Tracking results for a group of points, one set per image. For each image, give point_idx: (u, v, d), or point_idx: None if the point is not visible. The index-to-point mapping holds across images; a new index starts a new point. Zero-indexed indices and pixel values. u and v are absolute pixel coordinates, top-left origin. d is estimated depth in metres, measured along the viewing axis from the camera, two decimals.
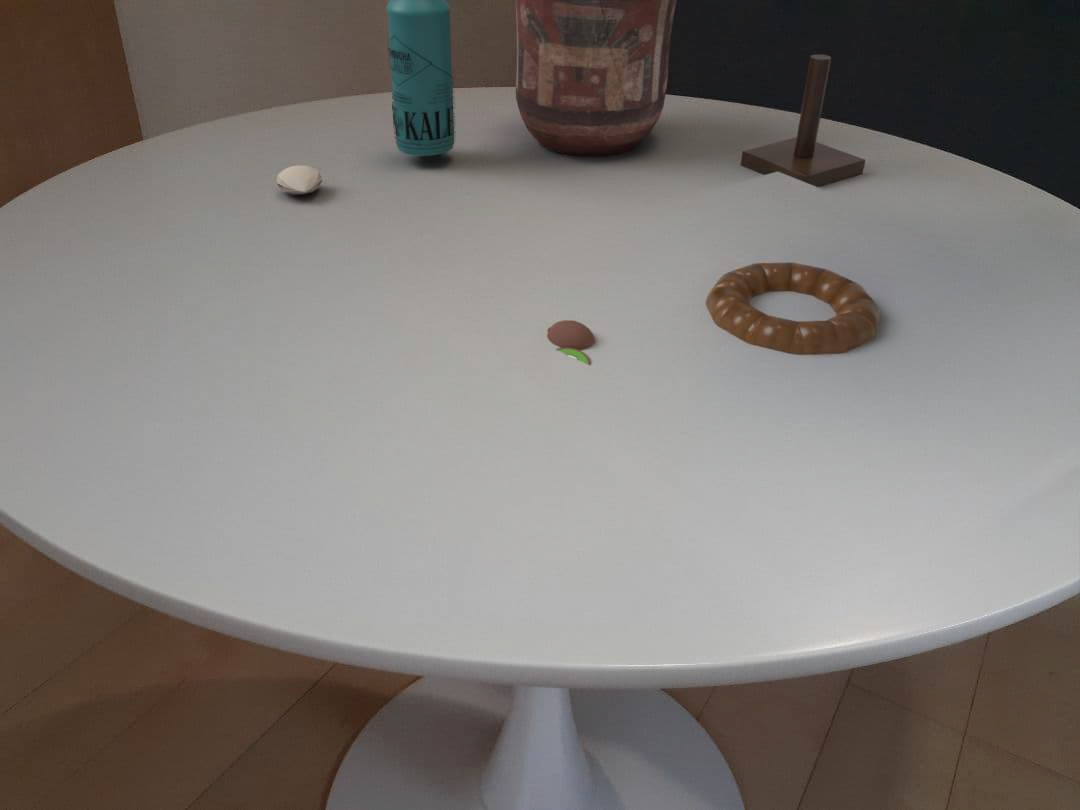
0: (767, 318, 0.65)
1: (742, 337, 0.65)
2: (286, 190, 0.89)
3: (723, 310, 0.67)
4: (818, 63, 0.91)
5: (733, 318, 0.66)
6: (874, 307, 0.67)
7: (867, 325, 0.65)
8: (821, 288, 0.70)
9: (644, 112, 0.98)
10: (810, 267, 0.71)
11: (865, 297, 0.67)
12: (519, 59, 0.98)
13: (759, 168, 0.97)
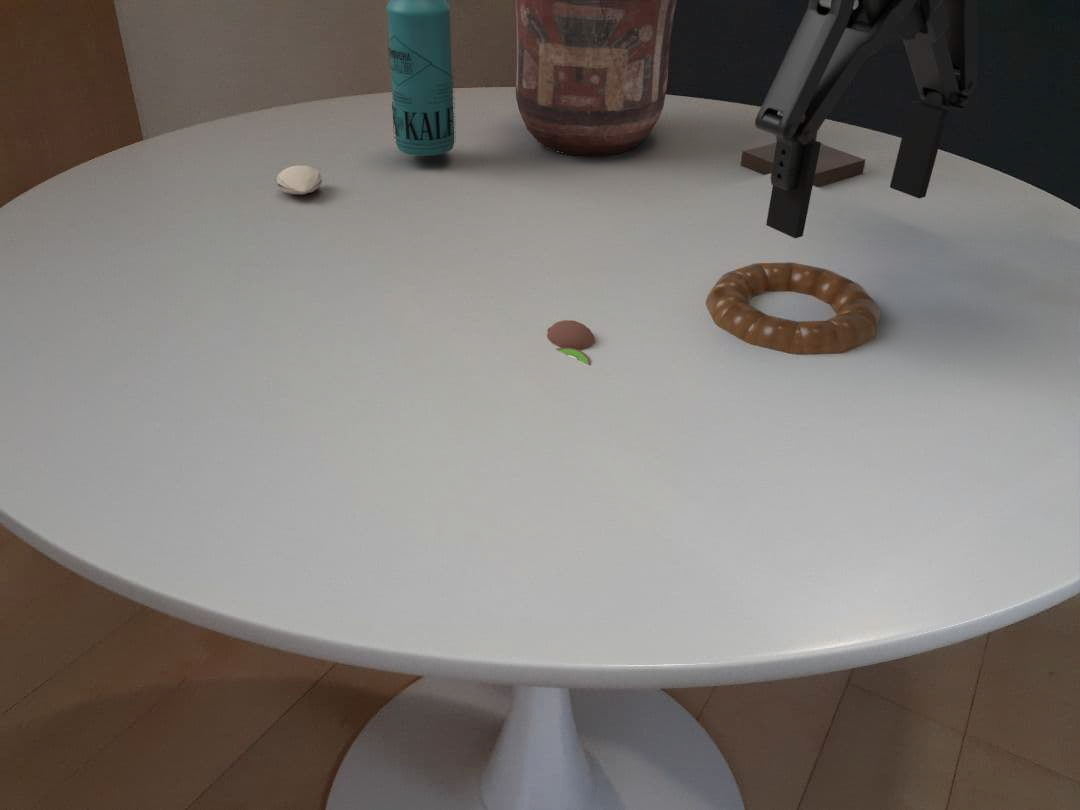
0: (767, 318, 0.65)
1: (742, 337, 0.65)
2: (286, 190, 0.89)
3: (723, 310, 0.67)
4: None
5: (733, 318, 0.66)
6: (874, 307, 0.67)
7: (867, 325, 0.65)
8: (821, 288, 0.70)
9: (644, 112, 0.98)
10: (810, 267, 0.71)
11: (865, 297, 0.67)
12: (519, 59, 0.98)
13: (759, 168, 0.97)
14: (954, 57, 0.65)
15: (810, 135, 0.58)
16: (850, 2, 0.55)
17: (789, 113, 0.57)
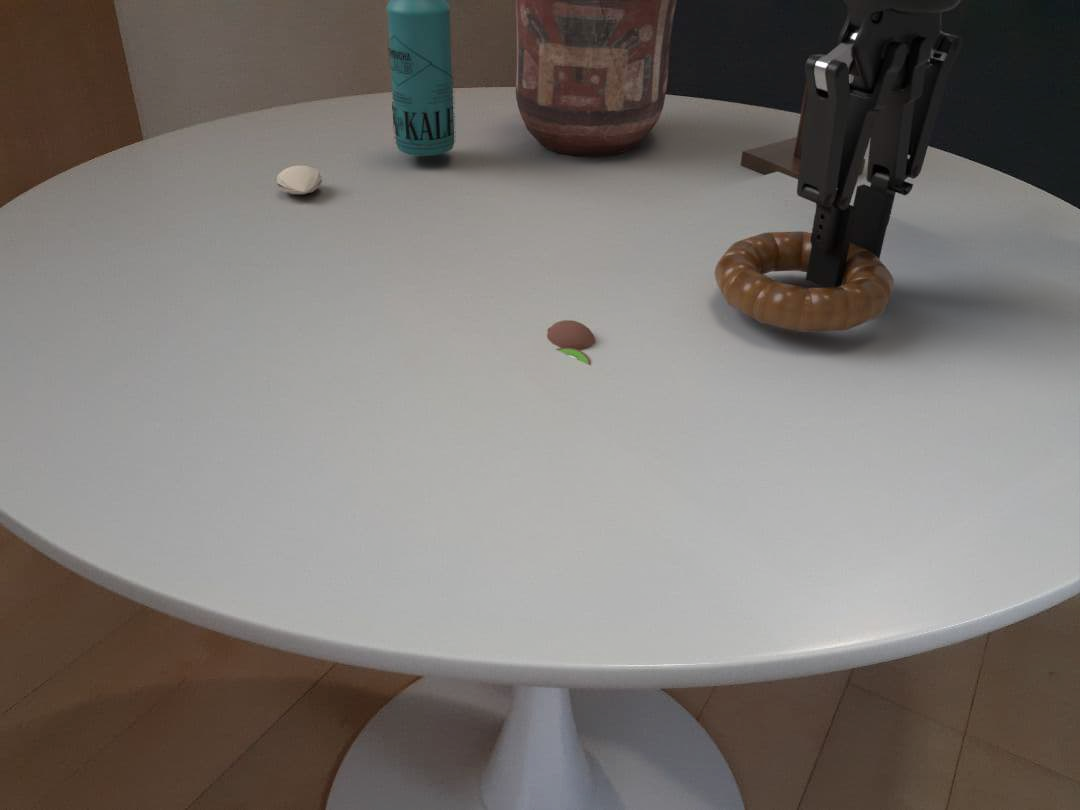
0: (777, 284, 0.63)
1: (751, 305, 0.64)
2: (286, 190, 0.89)
3: (732, 277, 0.65)
4: None
5: (742, 286, 0.64)
6: (887, 274, 0.65)
7: (880, 291, 0.63)
8: None
9: (644, 112, 0.98)
10: None
11: (878, 264, 0.66)
12: (519, 59, 0.98)
13: (759, 168, 0.97)
14: (910, 133, 0.66)
15: (848, 201, 0.64)
16: (844, 82, 0.58)
17: (823, 189, 0.62)
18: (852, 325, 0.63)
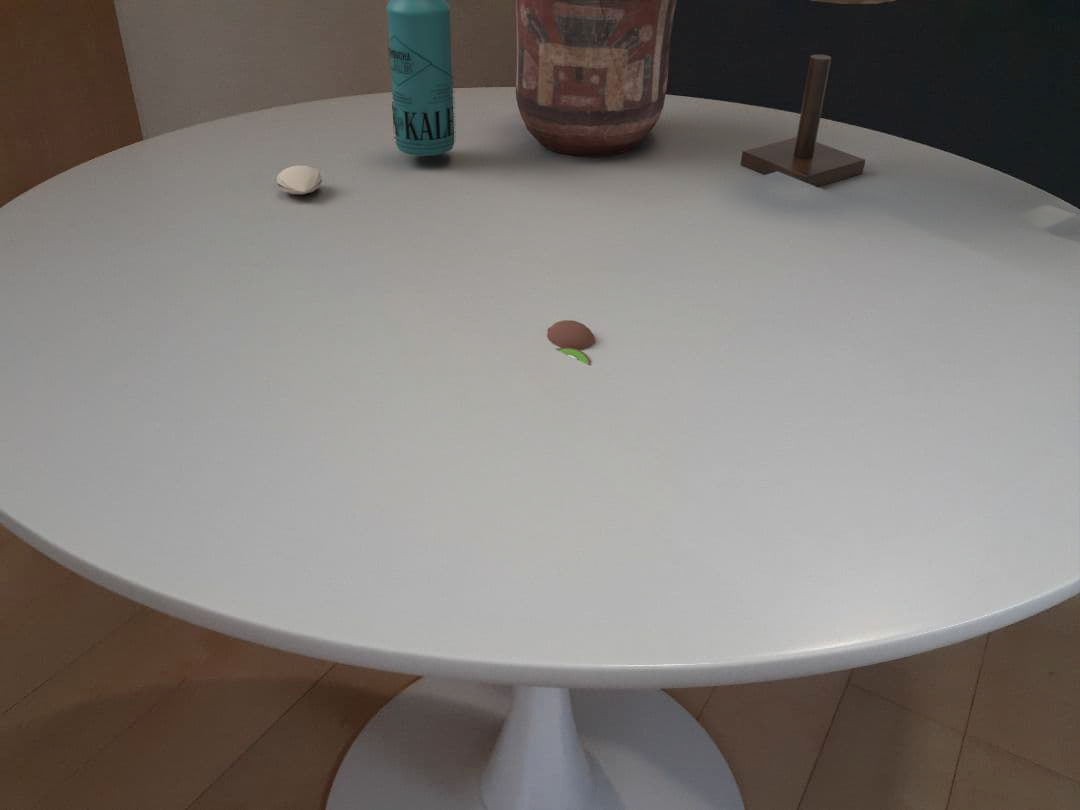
0: None
1: None
2: (286, 190, 0.89)
3: None
4: (818, 63, 0.91)
5: None
6: None
7: None
8: None
9: (644, 112, 0.98)
10: None
11: None
12: (519, 59, 0.98)
13: (759, 168, 0.97)
14: None
15: None
16: None
17: None
18: None
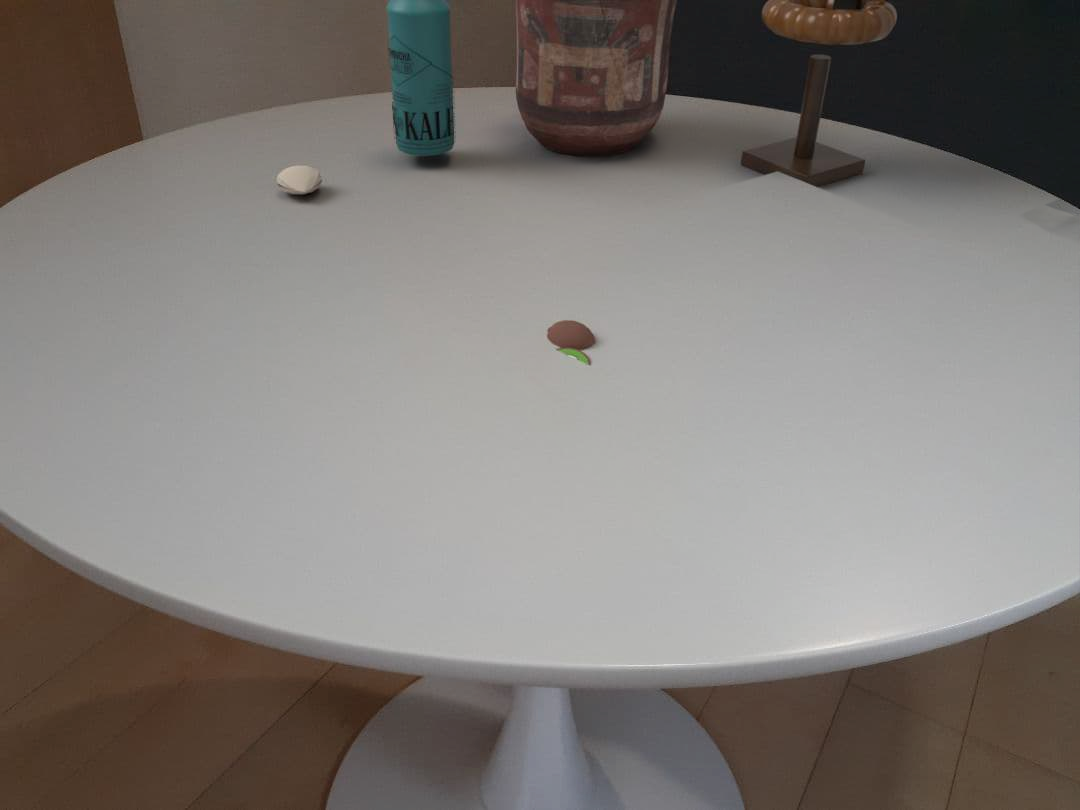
0: (811, 7, 0.85)
1: (792, 24, 0.86)
2: (286, 190, 0.89)
3: (777, 8, 0.87)
4: (818, 63, 0.91)
5: (785, 11, 0.86)
6: (892, 7, 0.87)
7: (887, 14, 0.86)
8: None
9: (644, 112, 0.98)
10: None
11: (885, 1, 0.88)
12: (519, 59, 0.98)
13: (759, 168, 0.97)
14: None
15: None
16: None
17: None
18: (867, 37, 0.85)
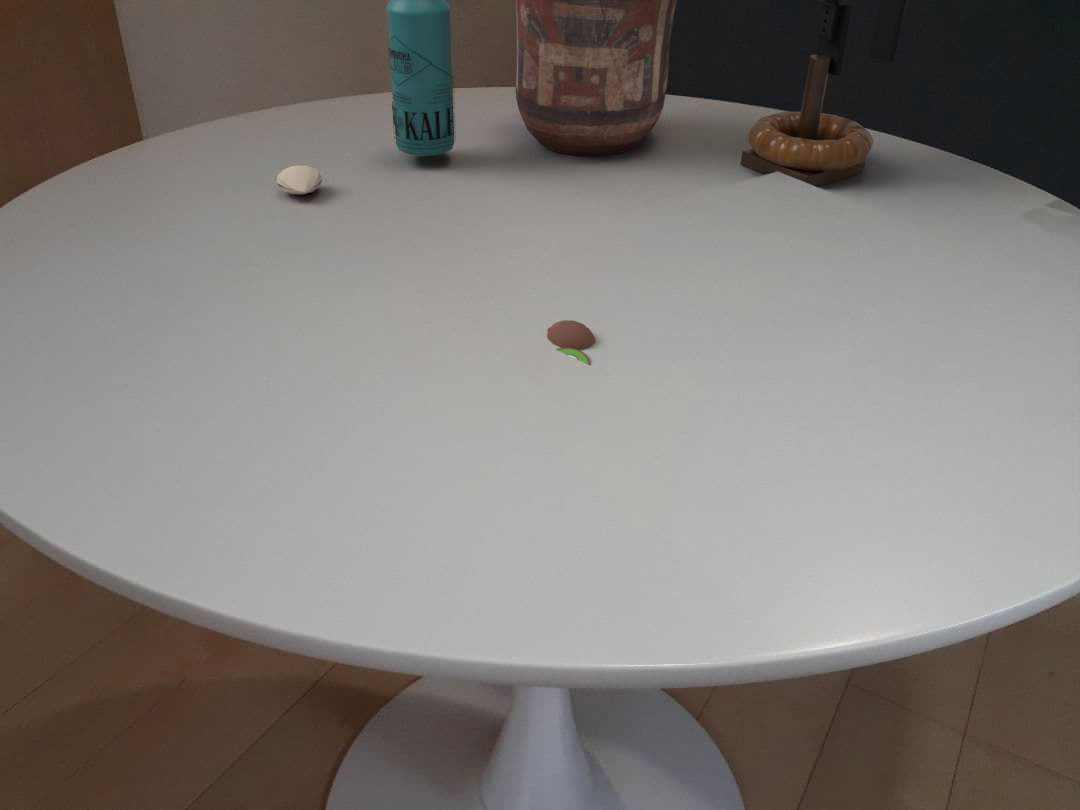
0: (794, 137, 0.92)
1: (776, 152, 0.93)
2: (286, 190, 0.89)
3: (762, 136, 0.94)
4: (818, 63, 0.91)
5: (770, 140, 0.93)
6: (868, 134, 0.95)
7: (863, 143, 0.93)
8: (830, 126, 0.98)
9: (644, 112, 0.98)
10: (822, 113, 0.99)
11: (862, 128, 0.95)
12: (519, 59, 0.98)
13: (759, 168, 0.97)
14: None
15: None
16: None
17: None
18: (845, 165, 0.92)
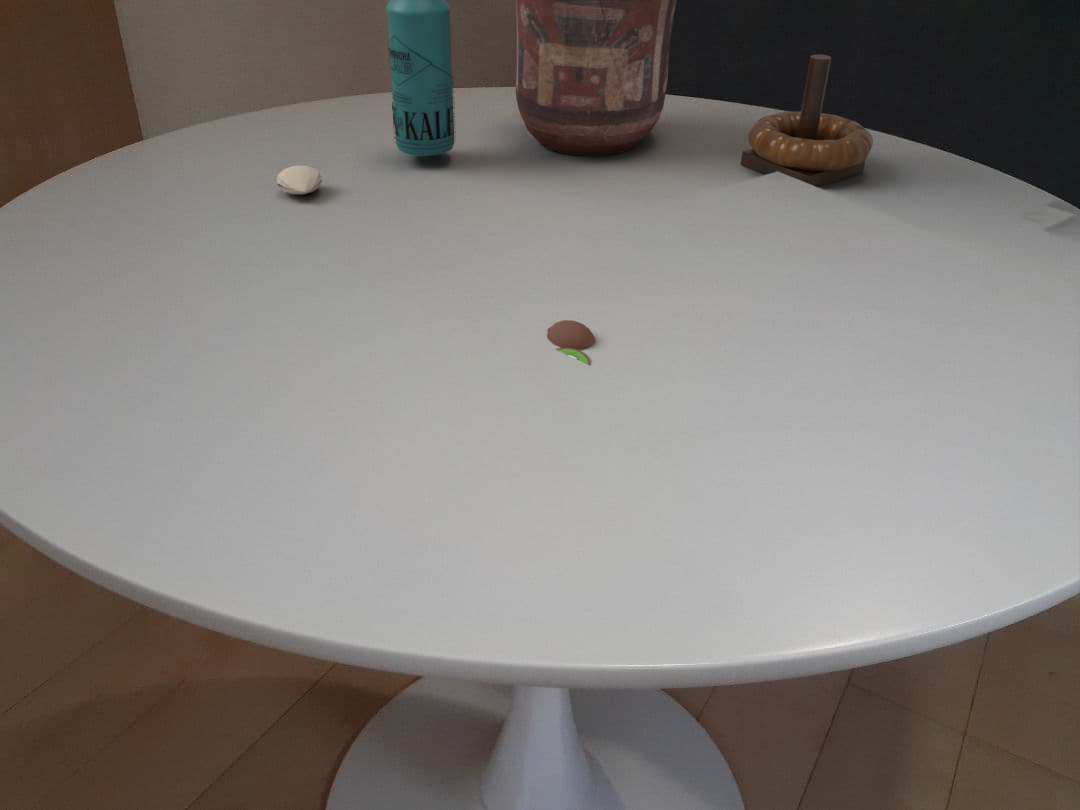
0: (794, 137, 0.92)
1: (776, 152, 0.93)
2: (286, 190, 0.89)
3: (762, 136, 0.94)
4: (818, 63, 0.91)
5: (770, 140, 0.93)
6: (868, 134, 0.95)
7: (863, 143, 0.93)
8: (830, 126, 0.98)
9: (644, 112, 0.98)
10: (822, 113, 0.99)
11: (862, 128, 0.95)
12: (519, 59, 0.98)
13: (759, 168, 0.97)
14: None
15: None
16: None
17: None
18: (845, 165, 0.92)
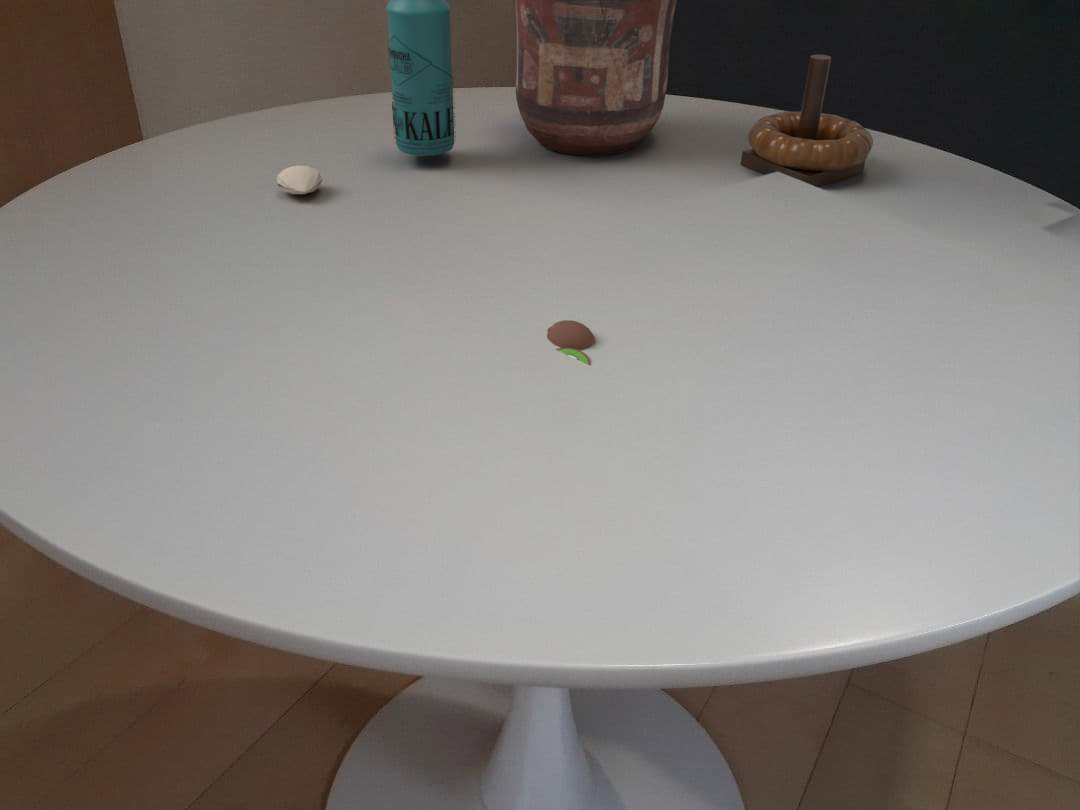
0: (794, 137, 0.92)
1: (776, 152, 0.93)
2: (286, 190, 0.89)
3: (762, 136, 0.94)
4: (818, 63, 0.91)
5: (770, 140, 0.93)
6: (868, 134, 0.95)
7: (863, 143, 0.93)
8: (830, 126, 0.98)
9: (644, 112, 0.98)
10: (822, 113, 0.99)
11: (862, 128, 0.95)
12: (519, 59, 0.98)
13: (759, 168, 0.97)
14: None
15: None
16: None
17: None
18: (845, 165, 0.92)
